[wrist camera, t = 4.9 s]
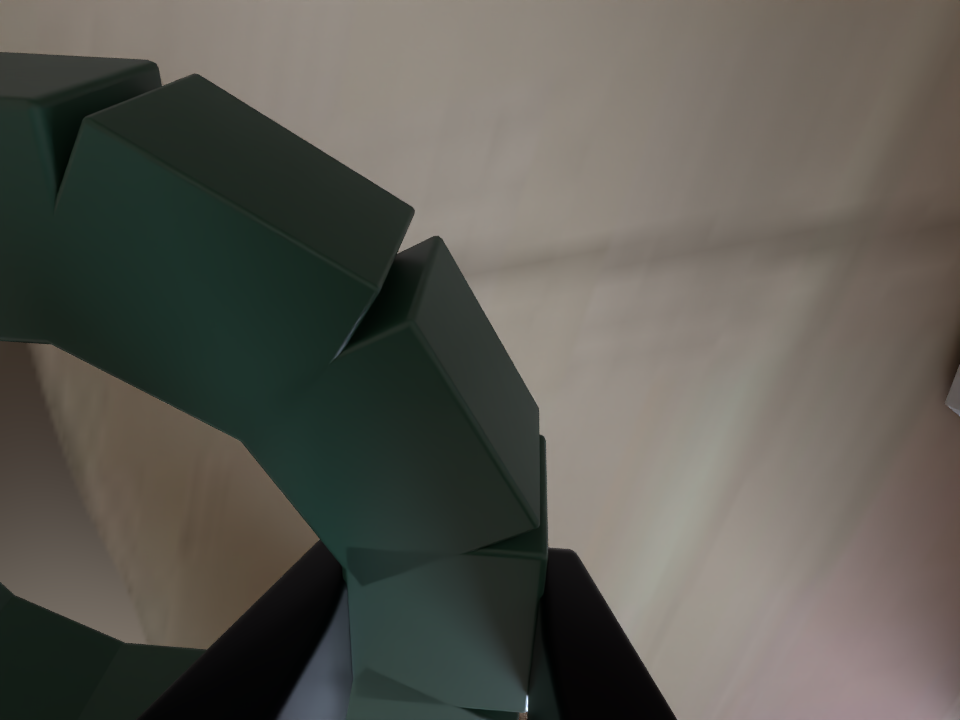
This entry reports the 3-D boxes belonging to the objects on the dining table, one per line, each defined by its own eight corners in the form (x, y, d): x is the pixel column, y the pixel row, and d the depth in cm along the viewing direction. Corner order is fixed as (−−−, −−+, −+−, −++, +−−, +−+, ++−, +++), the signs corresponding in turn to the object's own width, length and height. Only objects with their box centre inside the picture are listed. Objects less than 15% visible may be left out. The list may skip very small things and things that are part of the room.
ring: (513, 754, 12) (509, 895, 10) (-105, 701, 12) (-212, 827, 10) (582, 81, 7) (598, 131, 5) (-483, 25, 7) (-813, 53, 5)
